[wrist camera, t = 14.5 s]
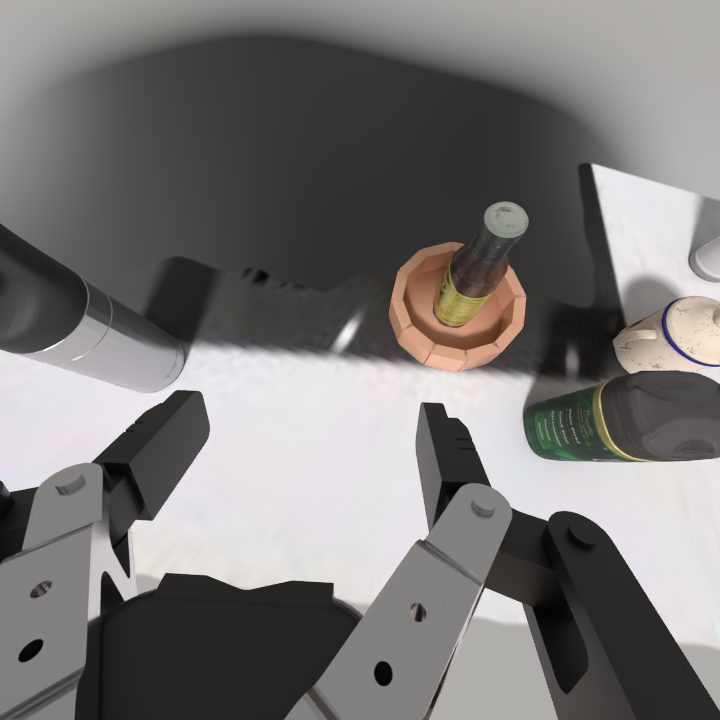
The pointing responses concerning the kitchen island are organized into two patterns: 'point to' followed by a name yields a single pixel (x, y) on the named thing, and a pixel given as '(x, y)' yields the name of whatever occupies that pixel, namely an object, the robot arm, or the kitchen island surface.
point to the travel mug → (707, 261)
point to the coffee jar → (630, 420)
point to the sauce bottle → (479, 265)
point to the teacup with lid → (673, 338)
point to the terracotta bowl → (444, 343)
